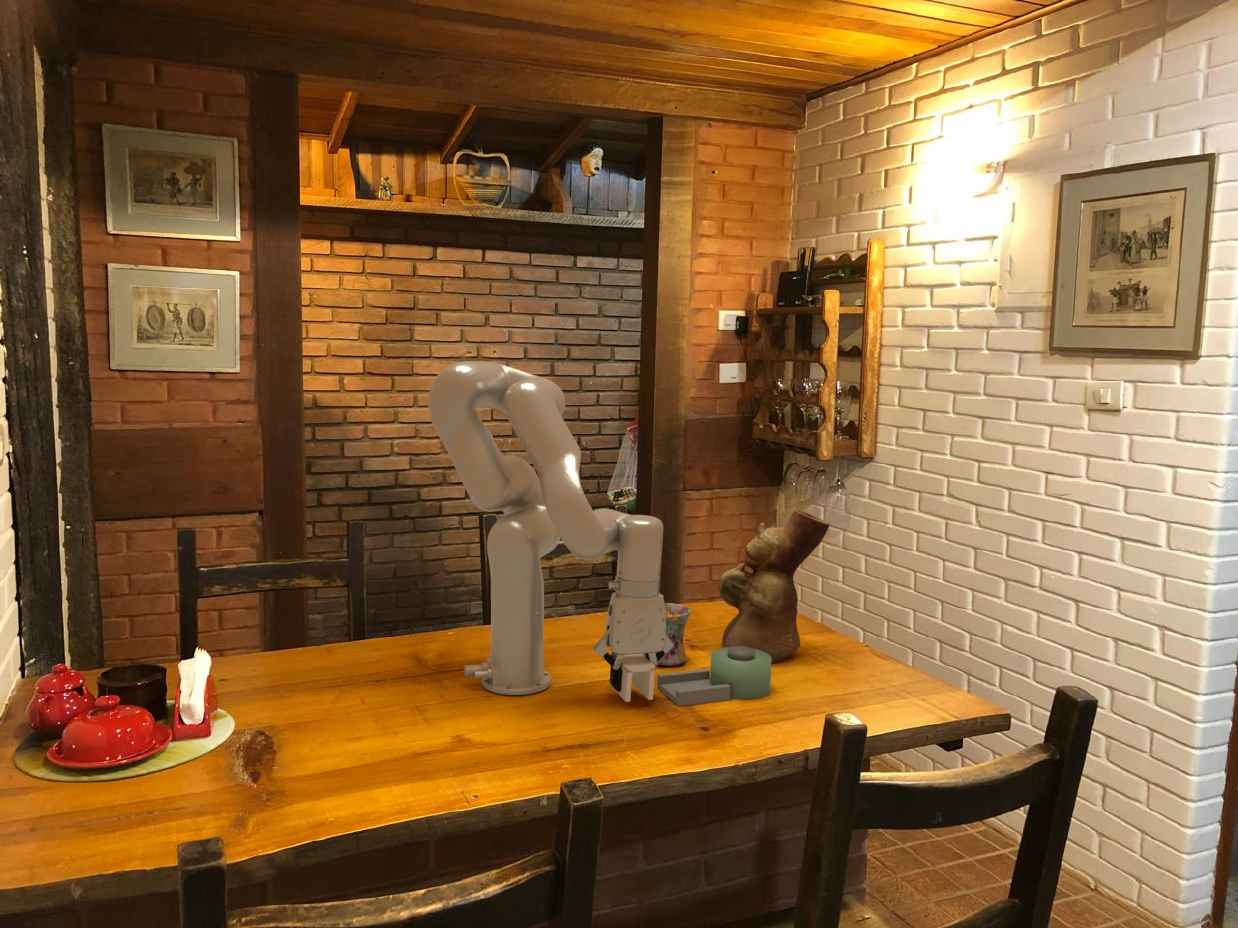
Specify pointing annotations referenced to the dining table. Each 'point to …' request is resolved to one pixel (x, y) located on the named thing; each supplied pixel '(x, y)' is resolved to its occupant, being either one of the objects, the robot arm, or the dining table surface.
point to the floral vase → (675, 633)
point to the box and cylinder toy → (721, 678)
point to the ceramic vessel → (770, 586)
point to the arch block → (636, 676)
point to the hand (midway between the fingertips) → (631, 686)
